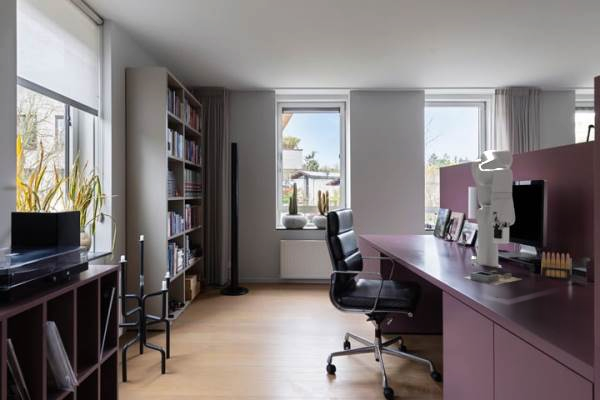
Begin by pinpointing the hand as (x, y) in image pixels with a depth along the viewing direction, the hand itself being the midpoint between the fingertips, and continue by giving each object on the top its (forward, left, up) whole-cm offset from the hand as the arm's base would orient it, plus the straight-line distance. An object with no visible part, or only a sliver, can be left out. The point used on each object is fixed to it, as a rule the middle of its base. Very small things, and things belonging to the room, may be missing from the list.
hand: (501, 237), depth 146 cm
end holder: (0, -12, -17) cm, 21 cm away
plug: (0, 0, -2) cm, 2 cm away
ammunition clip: (+10, +26, -19) cm, 34 cm away
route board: (0, -6, -19) cm, 20 cm away
